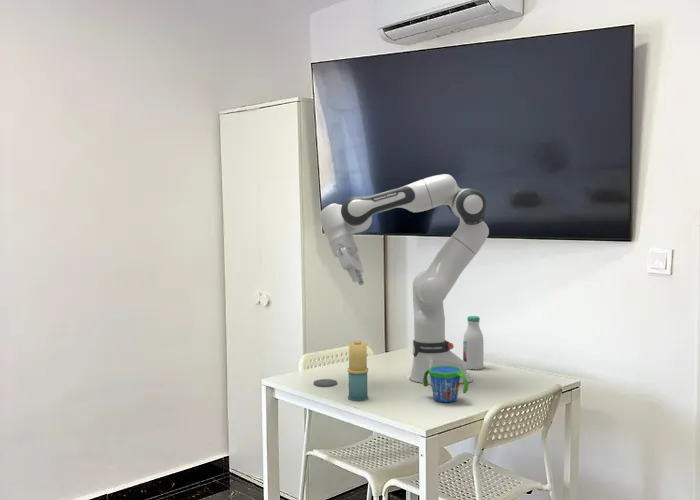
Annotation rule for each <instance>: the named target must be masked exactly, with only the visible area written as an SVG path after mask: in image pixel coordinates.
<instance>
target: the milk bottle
mask: <svg viewBox="0 0 700 500" xmlns="http://www.w3.org/2000/svg"><path fill="white" fill-rule="evenodd" d="M480 319H481V318H480V317H479V316H478V315H469V316H467V319H466V320H467V327H466V329H465V332H464V334H463V339H462V341H463V342H462V343H463V345H462V346H463V347H462V351H463V352H462V355H463V356H462V361H463V362H464V364H465V367H466V370H471V369H473V370H472V371H477V370H482V369H483V368H484V335H483V333H482V331H481V327H480V321H481V320H480ZM474 369H475V370H474Z"/></svg>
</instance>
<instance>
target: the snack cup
mask: <svg viewBox="0 0 700 500" xmlns="http://www.w3.org/2000/svg"><path fill="white" fill-rule="evenodd" d="M428 373H429V374H430V377H431V384H432V385H431V389H432V396H433V399H434V401H436V402H439V403H452V402H456V401H457V399H458V396H459V395H458V394H459V387H460V383H459V380H460V377H461V378H462V379H463V382H464V383H463V391H462V394H466V393H467V392H468V390H469V384H468V383H469V382H467V379H466V376H465V375H464V374H463V373H462V372H461V369H460V368H458V367H454V366H435V367H431V368H430V369H429V370H427V371H426V372H425V374H424V378H423V383H422V384H423V387H428V386H429V384H428V381H427V375H428Z"/></svg>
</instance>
